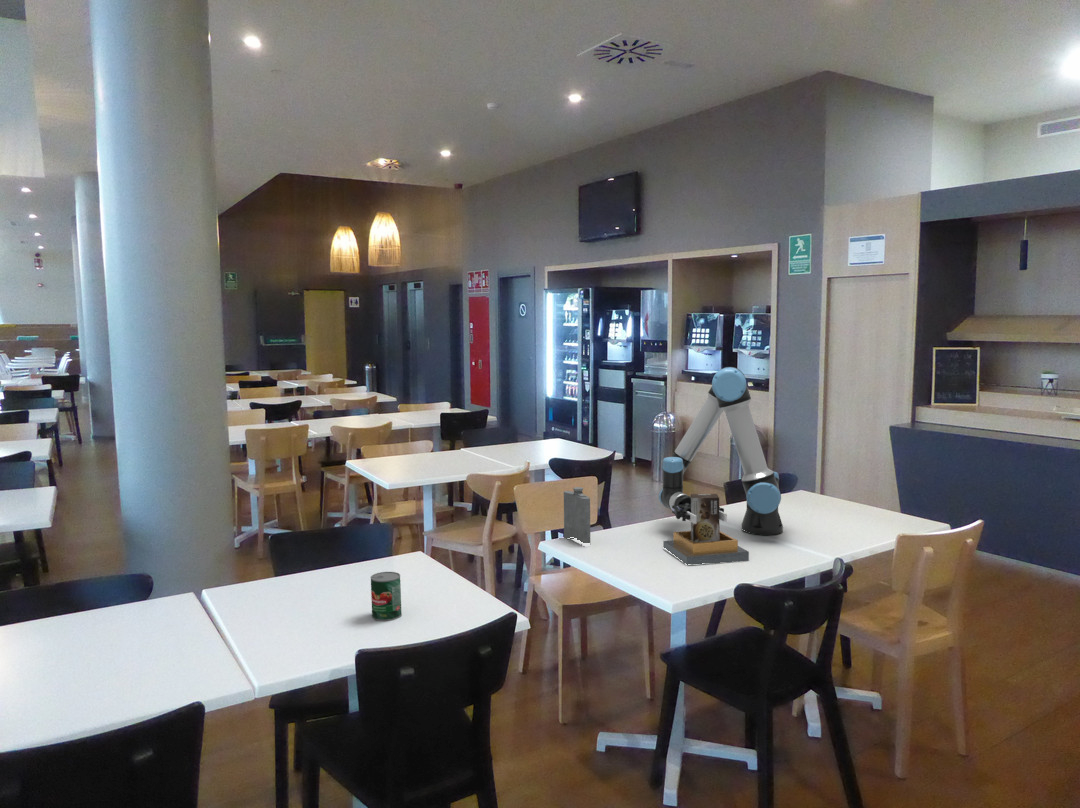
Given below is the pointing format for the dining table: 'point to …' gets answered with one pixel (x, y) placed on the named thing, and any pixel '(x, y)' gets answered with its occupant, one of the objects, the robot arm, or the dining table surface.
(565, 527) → the hip flask
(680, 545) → the square framed tray
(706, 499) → the coffee box
